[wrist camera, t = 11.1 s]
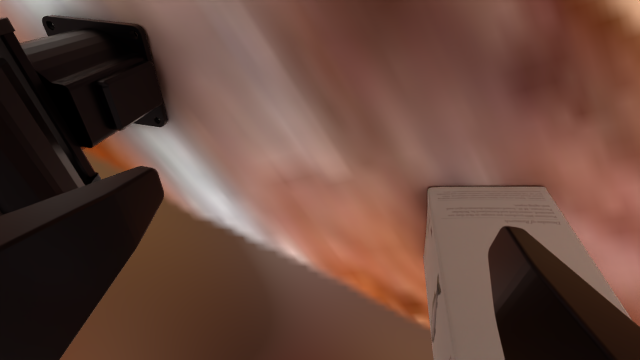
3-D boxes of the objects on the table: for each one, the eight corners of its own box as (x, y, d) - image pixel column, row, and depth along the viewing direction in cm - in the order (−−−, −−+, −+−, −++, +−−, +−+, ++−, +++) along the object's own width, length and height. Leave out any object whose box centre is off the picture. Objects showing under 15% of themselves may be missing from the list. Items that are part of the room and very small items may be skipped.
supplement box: (425, 184, 21) (457, 389, 11) (548, 184, 20) (715, 425, 10) (419, 256, 25) (439, 453, 15) (520, 261, 24) (616, 486, 14)
